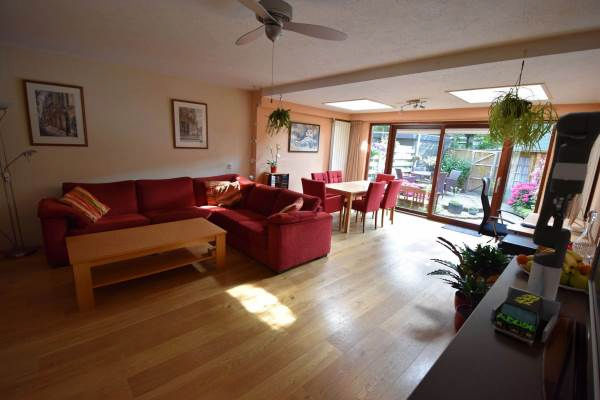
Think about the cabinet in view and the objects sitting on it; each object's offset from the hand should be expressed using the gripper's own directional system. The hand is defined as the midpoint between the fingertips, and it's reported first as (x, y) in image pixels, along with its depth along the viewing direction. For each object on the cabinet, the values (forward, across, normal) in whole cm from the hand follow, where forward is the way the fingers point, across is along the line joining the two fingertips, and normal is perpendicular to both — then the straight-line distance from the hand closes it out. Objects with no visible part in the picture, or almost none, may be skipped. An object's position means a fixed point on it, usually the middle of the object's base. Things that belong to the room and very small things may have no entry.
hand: (556, 230), depth 87 cm
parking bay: (+37, -4, -4) cm, 37 cm away
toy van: (+37, +2, -4) cm, 37 cm away
